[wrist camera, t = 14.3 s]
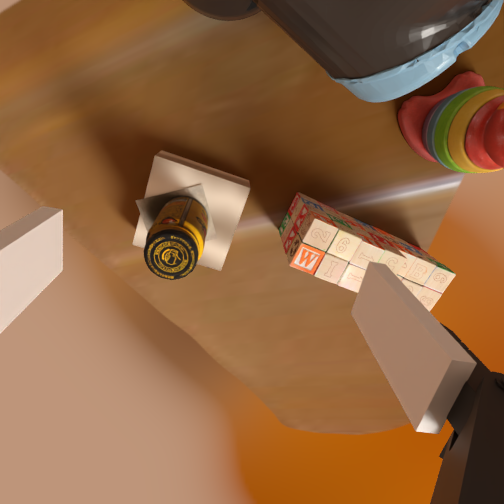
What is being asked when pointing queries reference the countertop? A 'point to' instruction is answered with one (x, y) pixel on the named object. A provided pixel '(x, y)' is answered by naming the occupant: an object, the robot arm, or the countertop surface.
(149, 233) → the condiment
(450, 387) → the robot arm
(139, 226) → the birch block
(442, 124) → the stacking bear
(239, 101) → the countertop surface
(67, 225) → the countertop surface
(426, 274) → the stack of blocks
